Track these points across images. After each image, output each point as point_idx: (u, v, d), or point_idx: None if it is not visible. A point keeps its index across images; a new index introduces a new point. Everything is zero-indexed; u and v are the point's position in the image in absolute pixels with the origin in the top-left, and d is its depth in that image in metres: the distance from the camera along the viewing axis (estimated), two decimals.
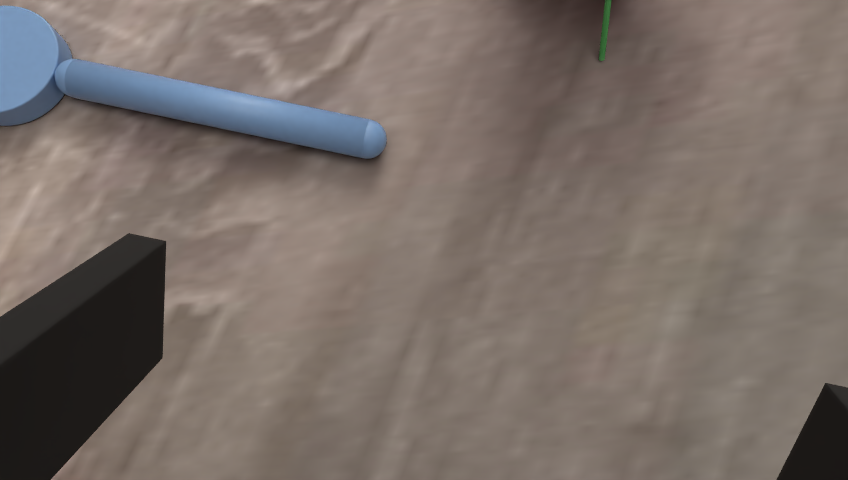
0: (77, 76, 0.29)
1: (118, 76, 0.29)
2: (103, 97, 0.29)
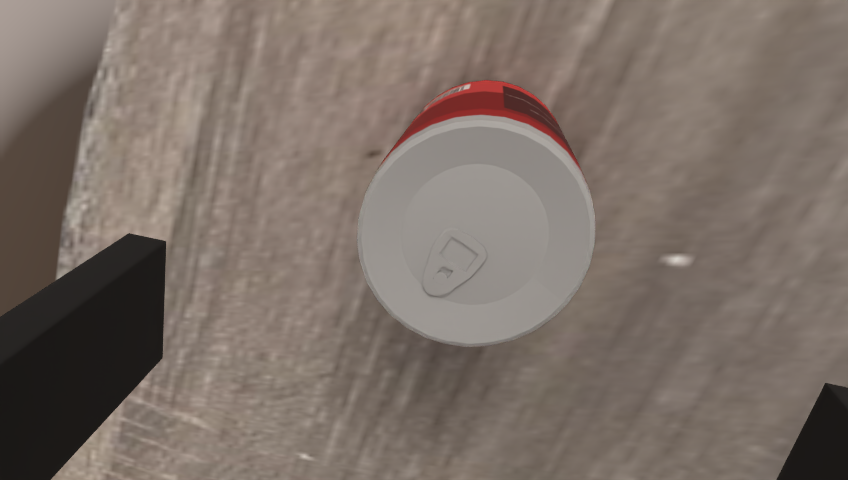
0: None
1: None
2: None
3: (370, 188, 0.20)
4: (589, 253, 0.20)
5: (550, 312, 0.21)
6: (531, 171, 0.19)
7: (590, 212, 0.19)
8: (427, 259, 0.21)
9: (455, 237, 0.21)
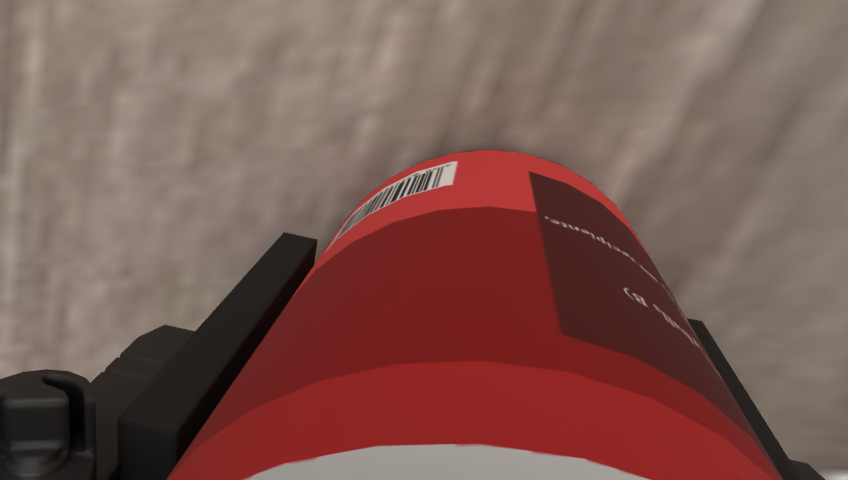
0: None
1: None
2: None
3: None
4: None
5: None
6: None
7: None
8: None
9: None
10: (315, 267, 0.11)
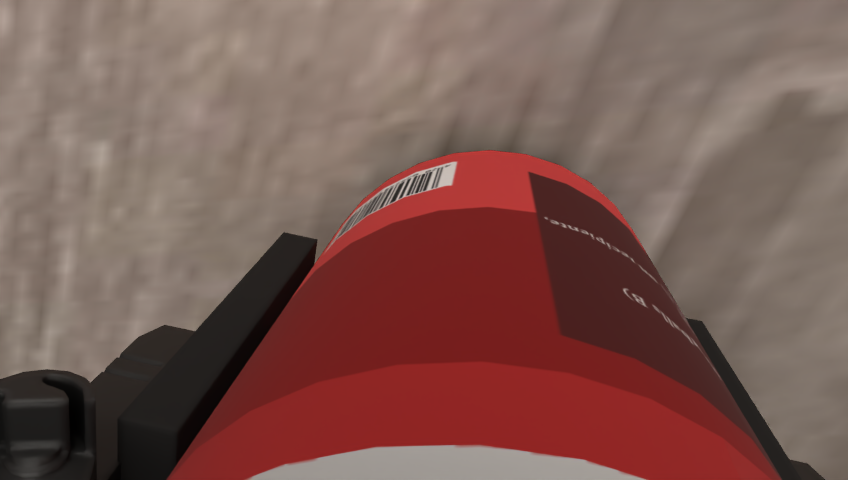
0: None
1: None
2: None
3: None
4: None
5: None
6: None
7: None
8: None
9: None
10: (315, 267, 0.11)
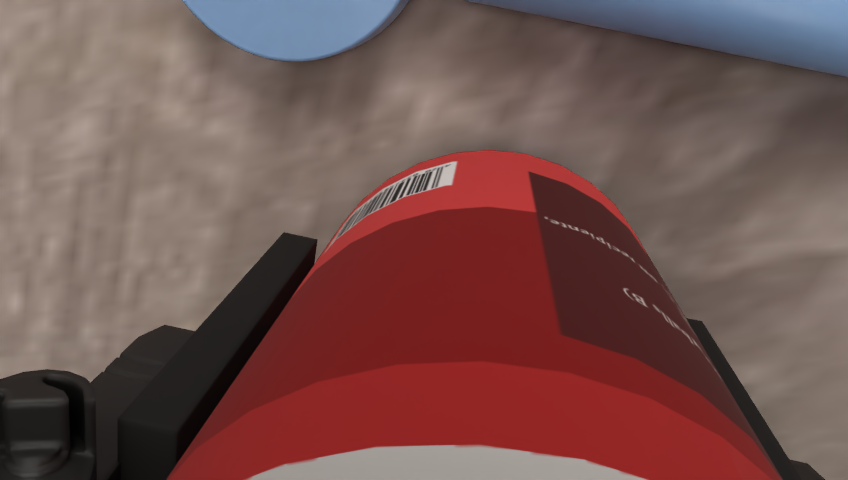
0: None
1: None
2: (543, 11, 0.13)
3: None
4: None
5: None
6: None
7: None
8: None
9: None
10: (315, 267, 0.11)
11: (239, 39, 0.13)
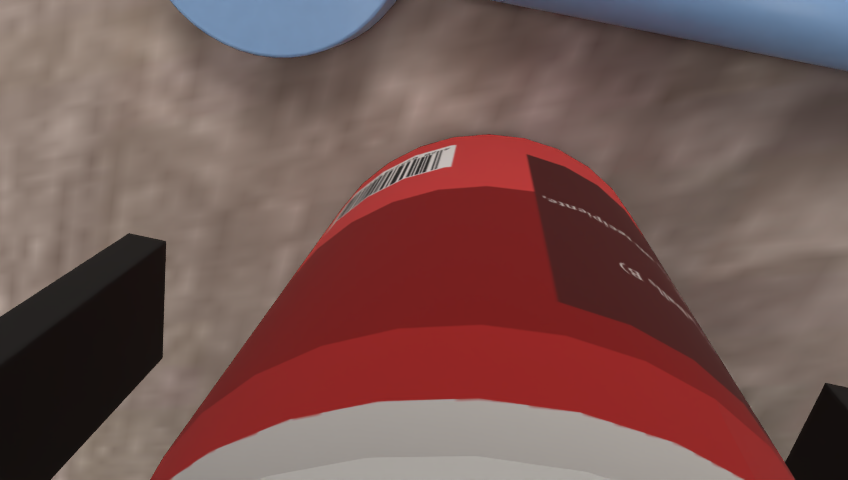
0: None
1: None
2: (538, 4, 0.12)
3: None
4: None
5: None
6: None
7: None
8: None
9: None
10: (315, 248, 0.11)
11: (224, 35, 0.13)
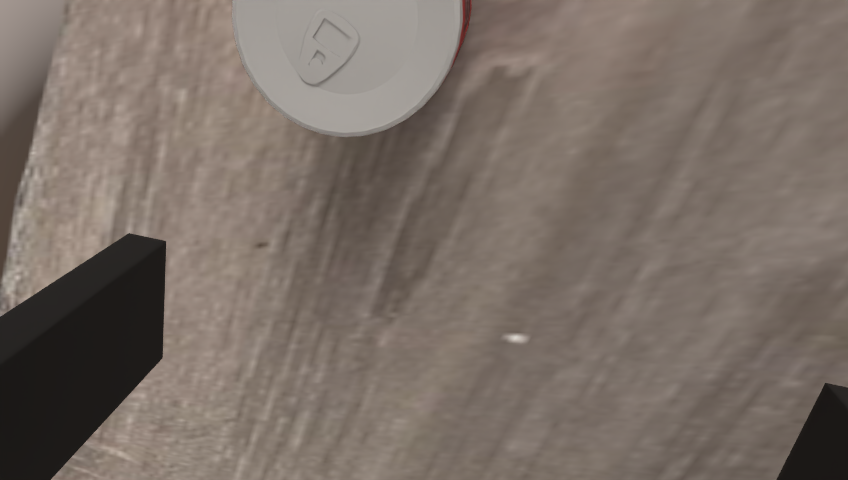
0: None
1: None
2: None
3: None
4: (455, 33, 0.20)
5: (420, 98, 0.21)
6: None
7: None
8: (302, 44, 0.21)
9: (327, 19, 0.21)
10: None
11: None
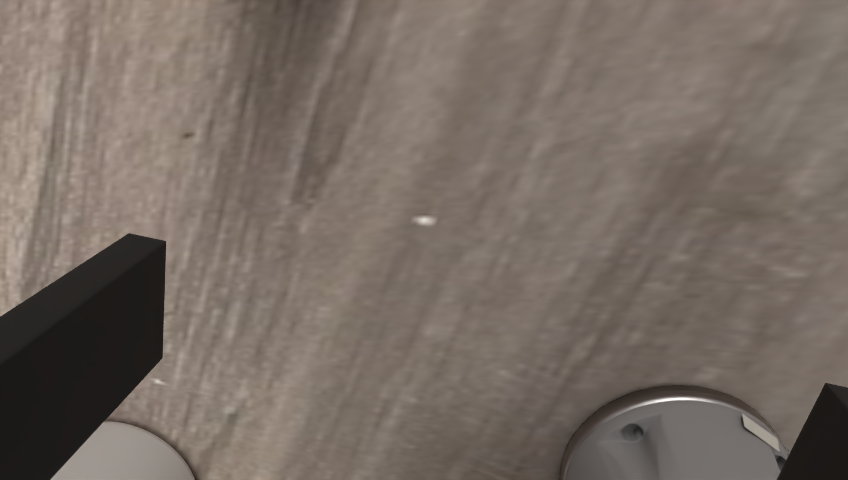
0: None
1: None
2: None
3: None
4: None
5: None
6: None
7: None
8: None
9: None
10: None
11: None
